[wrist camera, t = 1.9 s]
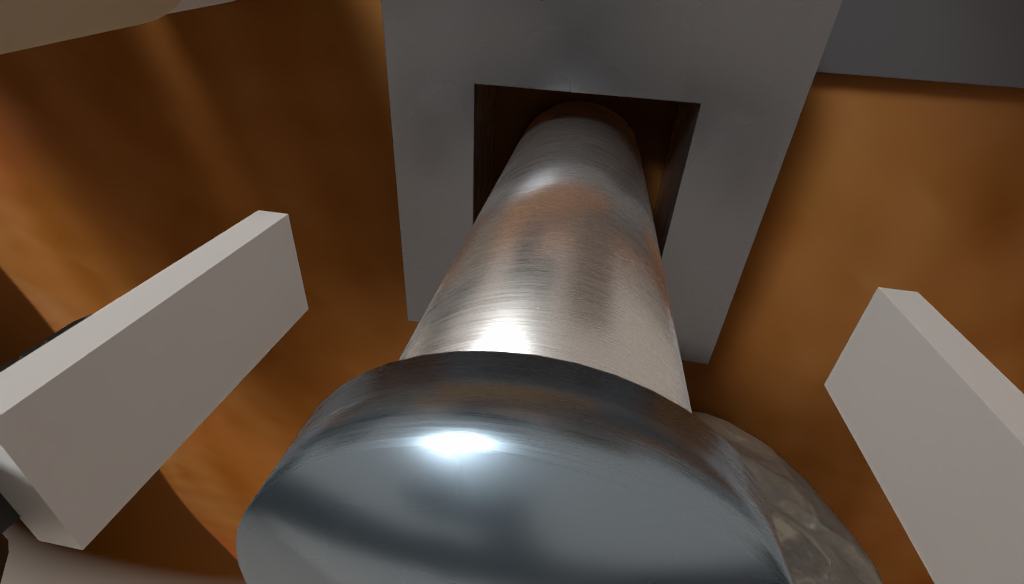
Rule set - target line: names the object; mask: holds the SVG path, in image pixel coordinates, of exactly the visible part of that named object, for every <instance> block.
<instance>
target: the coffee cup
mask: <svg viewBox="0 0 1024 584" xmlns="http://www.w3.org/2000/svg"><path fill="white" fill-rule="evenodd" d="M232 1H235V0H0V55H1V54H5V53H10V52H15V51H19V50H24V49H29V48H33V47H38V46H43V45H47V44H52V43H56V42H61V41H66V40H70V39H75V38H80V37H84V36H89V35H94V34H98V33H103V32H108V31H112V30H117V29H122V28H126V27H131V26H136V25H140V24H145V23H148V22H152V21H154V20H157V19H159V18H161V17H163V16H164V15H166V14H170V13H175V12H180V11H186V10H191V9H196V8H202V7H207V6H212V5H217V4H223V3H228V2H232Z"/></svg>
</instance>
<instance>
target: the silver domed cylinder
mask: <svg viewBox="0 0 1024 584" xmlns="http://www.w3.org/2000/svg"><path fill="white" fill-rule="evenodd" d="M236 551H237V557H238V563H239V566H240V569H241V571H242V574H243V576H244V579H245V581H246V583H247V584H793V583H792V579H791V576H790V573H789V570H788V566H787V563H786V560H785V557H784V554H783V550H782V547H781V544H780V541H779V538H778V534H777V531H776V528H775V525H774V522H773V518H772V515H771V512H770V509H769V506H768V502H767V499H766V497H765V495H764V493H763V491H762V489H761V486H760V484H759V482H758V480H757V478H756V476H755V475H754V473H753V472H752V471H751V469H750V468H749V467H748V465H747V464H746V463H745V461H744V460H743V459H742V457H741V456H740V455H739V453H738V452H737V451H736V450H735V449H734V448H733V447H732V446H731V445H730V444H729V443H728V442H727V441H726V440H725V439H724V438H723V437H721V436H720V435H719V434H718V433H717V432H716V431H715V430H714V429H713V428H711V427H710V426H709V425H707V424H706V423H704V422H703V421H702V420H700V419H699V418H698V417H696V416H695V415H694V414H692V411H691V406H690V401H689V396H688V391H687V386H686V381H685V376H684V371H683V366H682V361H681V356H680V351H679V346H678V341H677V336H676V331H675V326H674V321H673V316H672V311H671V306H670V301H669V296H668V291H667V286H666V281H665V276H664V271H663V266H662V261H661V256H660V251H659V246H658V241H657V236H656V231H655V226H654V221H653V216H652V211H651V206H650V201H649V196H648V191H647V186H646V181H645V176H644V171H643V166H642V161H641V156H640V151H639V147H638V143H637V140H636V138H635V136H634V133H633V132H632V130H631V128H630V127H629V125H628V124H627V123H626V122H625V121H624V120H623V119H622V118H621V117H620V116H619V115H618V114H617V113H615V112H614V111H612V110H611V109H609V108H607V107H605V106H602V105H600V104H596V103H593V102H586V101H573V102H566V103H562V104H559V105H556V106H554V107H551V108H550V109H548V110H546V111H544V112H543V113H542V114H540V115H539V116H538V117H536V119H535V120H534V121H533V122H532V123H531V124H530V125H529V126H528V128H527V129H526V130H525V132H524V134H523V136H522V138H521V139H520V141H519V143H518V145H517V147H516V148H515V150H514V152H513V154H512V156H511V157H510V159H509V161H508V163H507V165H506V167H505V168H504V170H503V172H502V174H501V176H500V177H499V179H498V181H497V183H496V185H495V186H494V188H493V190H492V192H491V194H490V195H489V197H488V199H487V201H486V203H485V205H484V206H483V208H482V210H481V212H480V214H479V215H478V217H477V219H476V221H475V223H474V224H473V226H472V228H471V230H470V232H469V234H468V235H467V237H466V239H465V241H464V243H463V244H462V246H461V248H460V250H459V252H458V253H457V255H456V257H455V259H454V261H453V263H452V264H451V266H450V268H449V270H448V272H447V273H446V275H445V277H444V279H443V281H442V282H441V284H440V286H439V288H438V290H437V292H436V293H435V295H434V297H433V299H432V301H431V302H430V304H429V306H428V308H427V310H426V311H425V313H424V315H423V317H422V319H421V321H420V322H419V324H418V326H417V328H416V330H415V331H414V333H413V335H412V337H411V339H410V340H409V342H408V344H407V346H406V348H405V349H404V351H403V353H402V355H401V357H400V359H399V360H398V361H395V362H391V363H388V364H385V365H383V366H380V367H377V368H375V369H372V370H370V371H367V372H365V373H362V374H360V375H359V376H357V377H355V378H353V379H352V380H350V381H348V382H347V383H345V384H343V385H342V386H340V387H338V388H337V389H336V390H335V391H334V392H333V393H331V394H330V395H329V396H328V397H327V398H326V399H324V400H323V401H322V402H321V403H320V404H319V406H318V407H317V408H316V410H315V411H314V412H313V414H312V415H311V416H310V417H309V419H308V420H307V422H306V423H305V425H304V426H303V427H302V429H301V430H300V432H299V433H298V435H297V436H296V438H295V439H294V441H293V442H292V444H291V445H290V446H289V448H288V449H287V451H286V452H285V454H284V455H283V457H282V458H281V460H280V461H279V463H278V464H277V465H276V467H275V468H274V470H273V471H272V473H271V474H270V476H269V477H268V479H267V480H266V481H265V483H264V484H263V486H262V487H261V489H260V490H259V492H258V493H257V495H256V496H255V498H254V499H253V500H252V502H251V503H250V505H249V506H248V508H247V509H246V511H245V512H244V515H243V517H242V520H241V522H240V524H239V527H238V530H237V540H236Z"/></svg>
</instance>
